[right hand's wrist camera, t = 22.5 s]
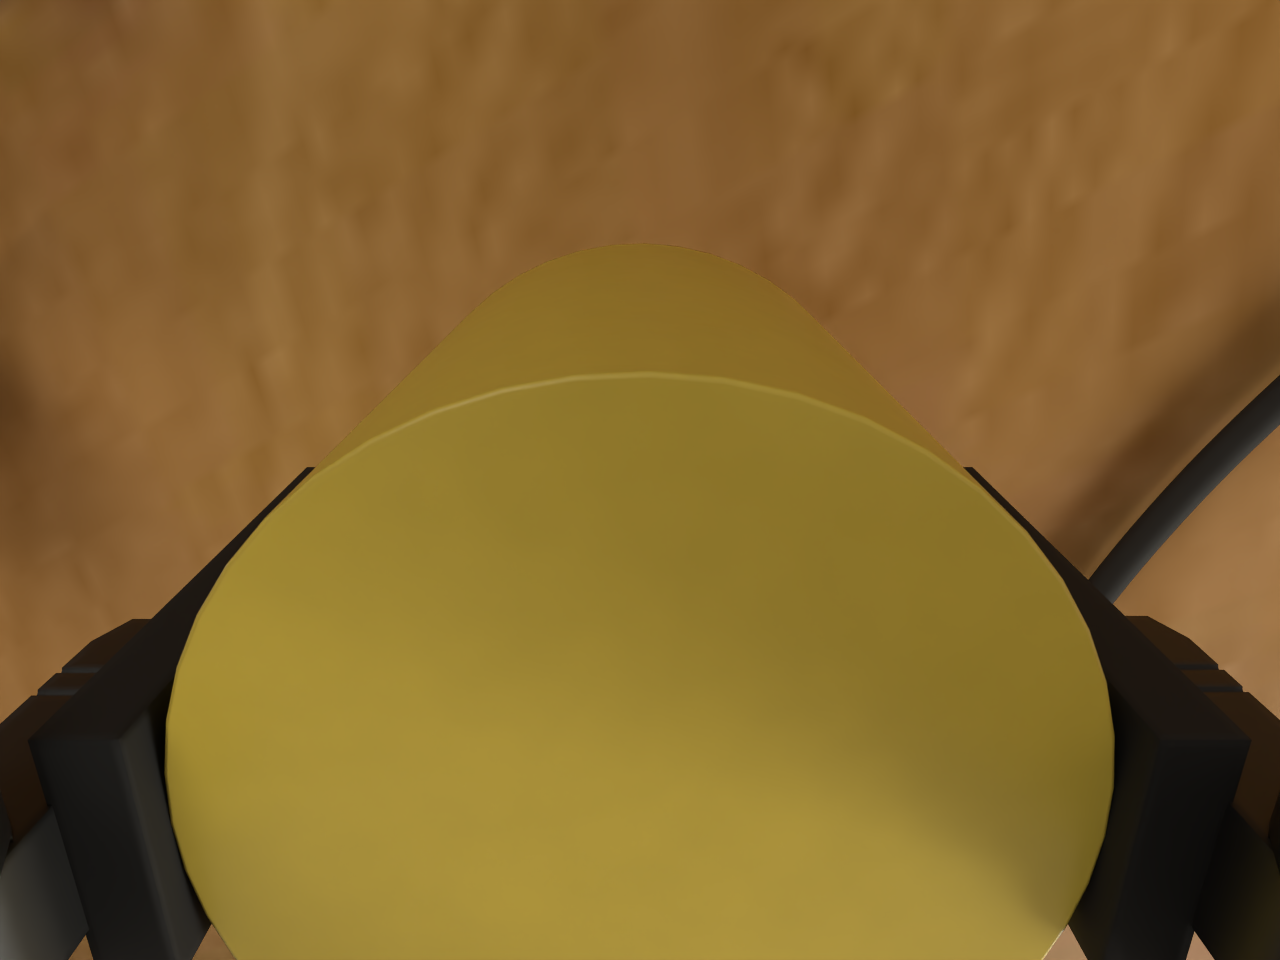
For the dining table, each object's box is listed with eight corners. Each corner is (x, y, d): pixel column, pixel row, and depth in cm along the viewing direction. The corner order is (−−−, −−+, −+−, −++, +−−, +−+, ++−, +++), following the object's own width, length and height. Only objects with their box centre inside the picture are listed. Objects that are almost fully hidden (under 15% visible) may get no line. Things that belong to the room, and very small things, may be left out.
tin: (828, 187, 15) (1084, 246, 6) (899, 625, 18) (1138, 1068, 9) (342, 311, 15) (-21, 515, 7) (489, 711, 18) (361, 1196, 10)
